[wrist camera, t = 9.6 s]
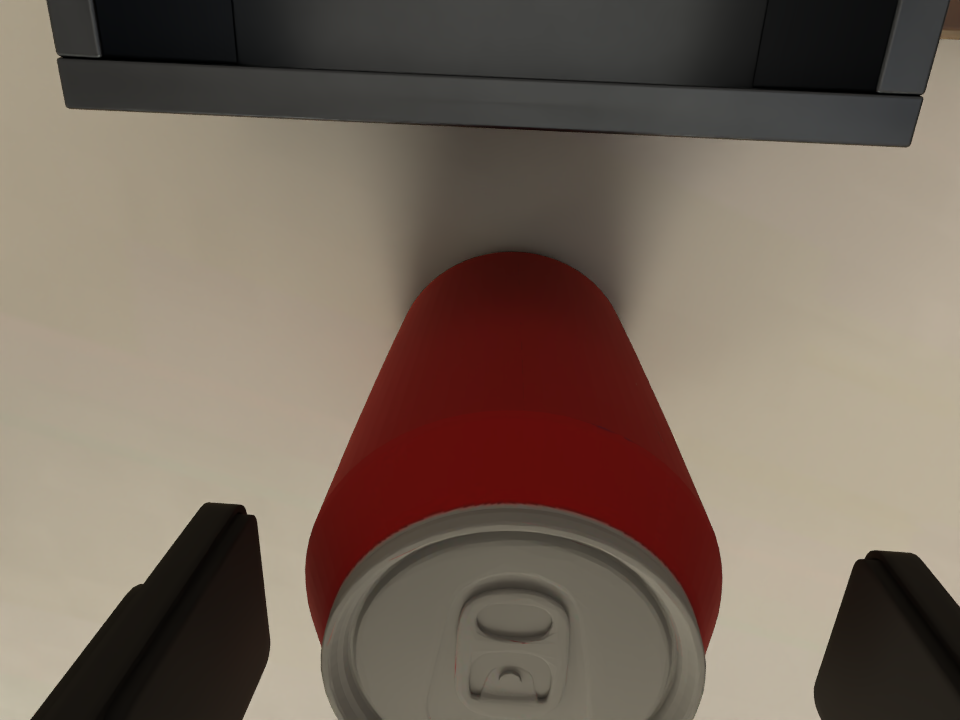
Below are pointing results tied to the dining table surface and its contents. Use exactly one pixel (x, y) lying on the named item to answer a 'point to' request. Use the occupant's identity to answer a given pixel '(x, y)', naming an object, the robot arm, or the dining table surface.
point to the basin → (516, 63)
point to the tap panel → (952, 22)
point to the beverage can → (513, 518)
